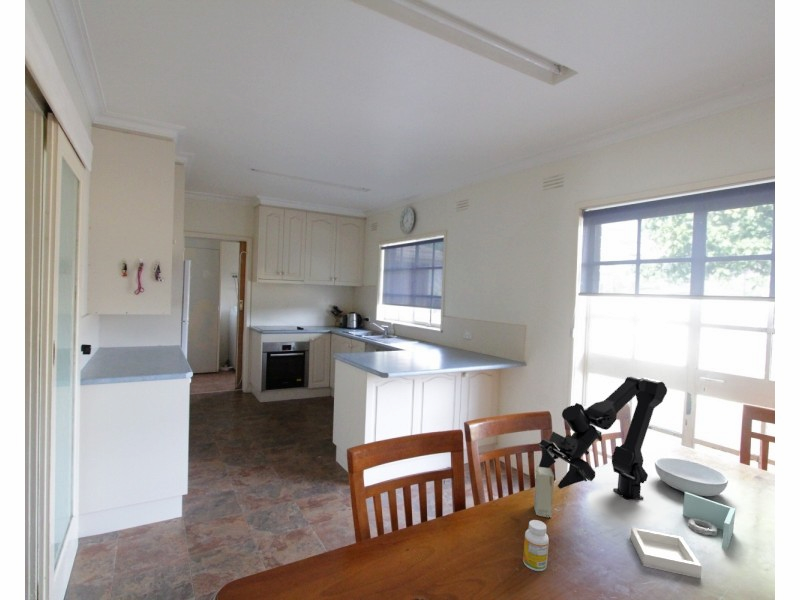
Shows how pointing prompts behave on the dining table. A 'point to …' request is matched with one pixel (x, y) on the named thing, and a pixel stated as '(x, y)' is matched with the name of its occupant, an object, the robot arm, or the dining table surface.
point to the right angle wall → (709, 517)
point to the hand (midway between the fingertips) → (548, 480)
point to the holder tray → (665, 552)
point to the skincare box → (543, 491)
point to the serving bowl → (691, 476)
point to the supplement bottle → (536, 546)
